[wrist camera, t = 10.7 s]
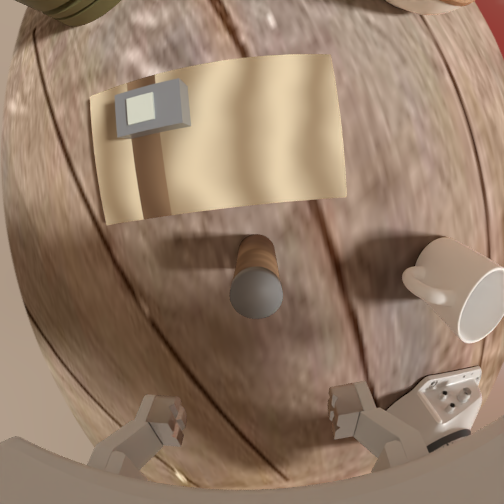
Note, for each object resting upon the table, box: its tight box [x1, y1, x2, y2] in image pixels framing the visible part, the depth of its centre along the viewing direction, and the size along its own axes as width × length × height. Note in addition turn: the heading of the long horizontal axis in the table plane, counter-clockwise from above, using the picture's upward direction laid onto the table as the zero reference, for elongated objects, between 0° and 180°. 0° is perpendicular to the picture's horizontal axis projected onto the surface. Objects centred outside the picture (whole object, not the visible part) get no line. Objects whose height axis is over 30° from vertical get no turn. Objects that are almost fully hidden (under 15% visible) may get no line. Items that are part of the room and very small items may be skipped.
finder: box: [115, 78, 191, 139], centre depth 21 cm, size 6×4×3 cm, turn 96°
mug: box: [402, 237, 504, 343], centre depth 24 cm, size 12×8×10 cm
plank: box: [90, 54, 347, 225], centre depth 24 cm, size 24×14×2 cm, turn 96°
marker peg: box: [230, 234, 283, 319], centre depth 24 cm, size 4×4×10 cm
